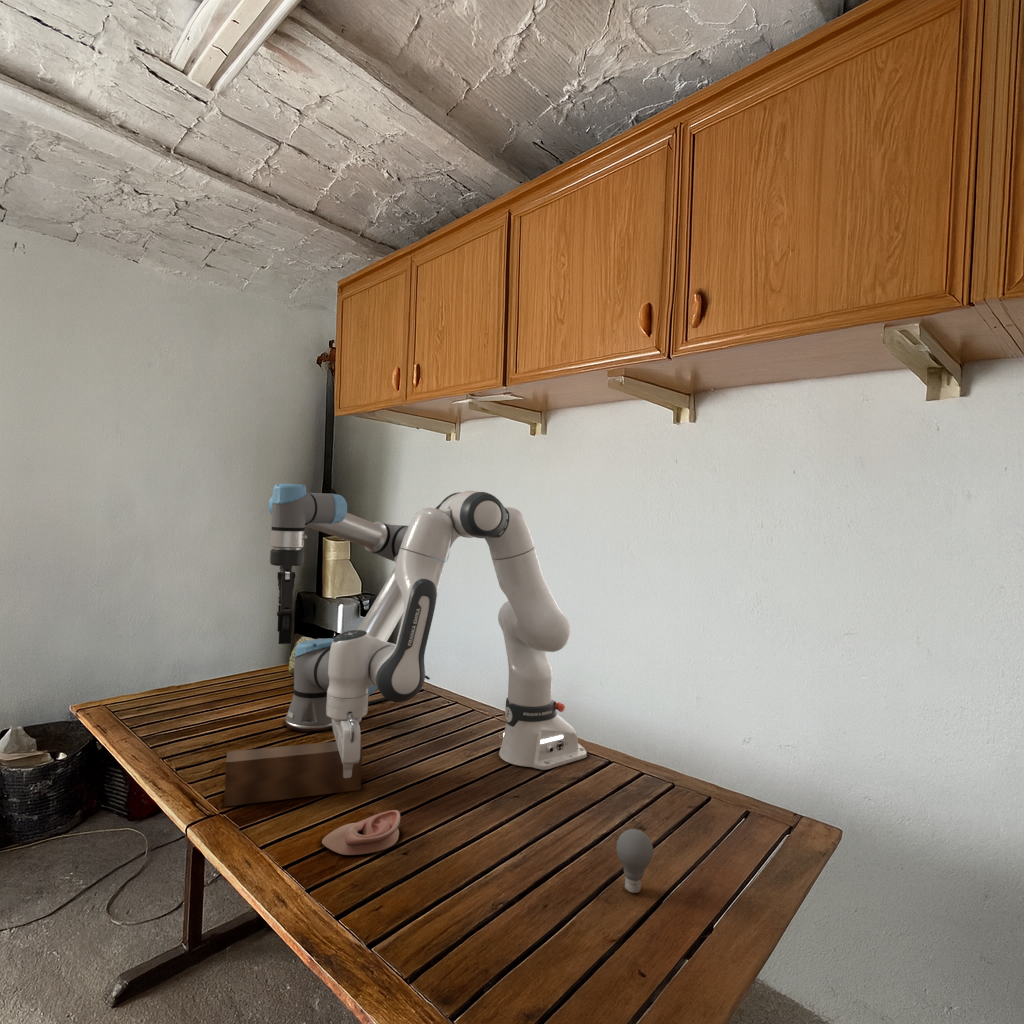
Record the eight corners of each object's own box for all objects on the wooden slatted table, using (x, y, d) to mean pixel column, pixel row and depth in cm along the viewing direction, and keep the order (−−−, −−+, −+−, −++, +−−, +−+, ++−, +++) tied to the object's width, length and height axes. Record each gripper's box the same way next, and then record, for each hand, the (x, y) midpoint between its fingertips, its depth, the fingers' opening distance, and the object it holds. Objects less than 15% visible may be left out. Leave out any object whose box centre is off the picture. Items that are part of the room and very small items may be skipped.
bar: (224, 806, 128) (225, 762, 128) (225, 794, 133) (227, 751, 133) (360, 790, 138) (362, 748, 137) (357, 779, 143) (358, 739, 143)
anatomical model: (313, 828, 113) (343, 799, 125) (313, 850, 113) (342, 819, 125) (383, 839, 111) (407, 808, 122) (382, 862, 111) (406, 829, 122)
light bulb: (610, 879, 108) (613, 822, 108) (644, 879, 109) (647, 822, 109) (619, 902, 102) (622, 840, 102) (655, 901, 103) (658, 840, 103)
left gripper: (307, 553, 141) (303, 648, 141) (301, 544, 164) (298, 626, 164) (270, 553, 138) (267, 650, 138) (270, 543, 161) (267, 626, 162)
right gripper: (369, 720, 130) (366, 787, 130) (355, 691, 149) (353, 749, 149) (337, 723, 128) (334, 790, 128) (328, 692, 147) (325, 751, 147)
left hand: (284, 637), depth 151 cm, fingers open, 13 cm apart
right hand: (344, 768), depth 139 cm, fingers open, 7 cm apart
